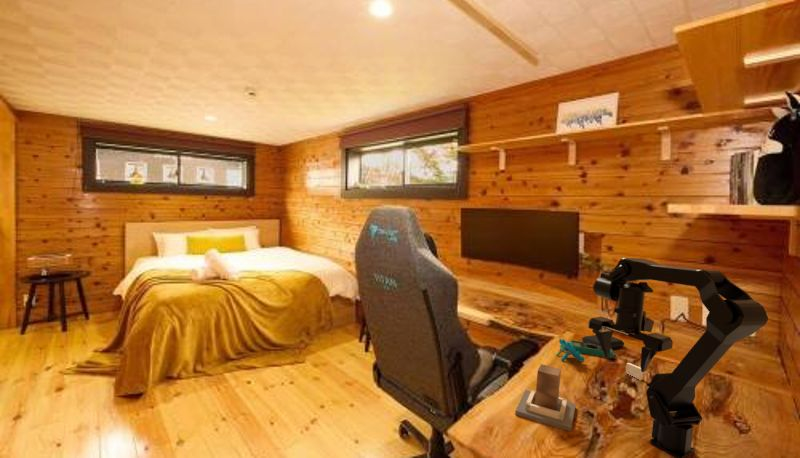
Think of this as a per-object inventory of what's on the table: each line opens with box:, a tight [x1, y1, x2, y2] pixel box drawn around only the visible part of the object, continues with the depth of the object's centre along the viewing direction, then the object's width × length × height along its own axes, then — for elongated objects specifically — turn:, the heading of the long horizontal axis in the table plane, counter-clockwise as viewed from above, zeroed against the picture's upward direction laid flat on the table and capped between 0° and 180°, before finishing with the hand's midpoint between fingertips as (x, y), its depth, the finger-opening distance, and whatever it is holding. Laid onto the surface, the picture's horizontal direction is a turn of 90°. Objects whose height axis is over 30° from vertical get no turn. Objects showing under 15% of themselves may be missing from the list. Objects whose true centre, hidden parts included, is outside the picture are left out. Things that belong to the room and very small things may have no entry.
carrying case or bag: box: [581, 334, 625, 350], centre depth 152 cm, size 11×3×15 cm
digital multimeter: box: [569, 340, 614, 360], centre depth 143 cm, size 7×15×3 cm, turn 70°
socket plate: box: [514, 389, 576, 432], centre depth 99 cm, size 13×13×2 cm
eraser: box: [625, 362, 644, 381], centre depth 123 cm, size 1×5×4 cm, turn 25°
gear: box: [555, 338, 585, 363], centre depth 134 cm, size 11×6×10 cm
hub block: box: [535, 363, 562, 411], centre depth 98 cm, size 5×5×10 cm
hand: (624, 364), depth 99 cm, fingers open, 9 cm apart
